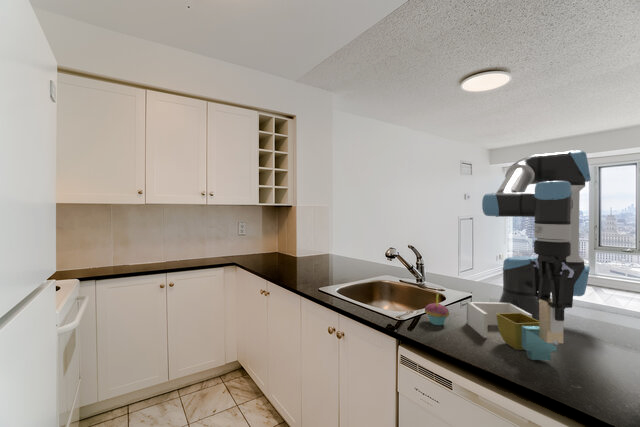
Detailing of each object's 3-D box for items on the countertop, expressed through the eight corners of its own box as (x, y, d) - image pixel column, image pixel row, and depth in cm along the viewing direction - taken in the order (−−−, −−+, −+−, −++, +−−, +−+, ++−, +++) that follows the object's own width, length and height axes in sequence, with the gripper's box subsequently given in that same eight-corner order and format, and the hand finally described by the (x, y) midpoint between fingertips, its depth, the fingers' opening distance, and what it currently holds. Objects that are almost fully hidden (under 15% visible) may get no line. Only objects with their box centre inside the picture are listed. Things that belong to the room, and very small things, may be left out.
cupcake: (451, 328, 103) (451, 295, 102) (426, 326, 104) (426, 293, 104) (445, 319, 111) (446, 288, 111) (422, 317, 113) (423, 287, 113)
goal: (509, 324, 106) (509, 302, 106) (531, 339, 94) (532, 314, 94) (466, 323, 107) (466, 301, 107) (483, 337, 95) (483, 313, 95)
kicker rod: (551, 356, 81) (551, 294, 80) (571, 370, 74) (571, 302, 74) (521, 355, 81) (522, 294, 81) (538, 369, 74) (539, 302, 74)
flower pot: (495, 340, 93) (495, 313, 93) (520, 339, 94) (520, 312, 94) (515, 353, 84) (516, 323, 84) (543, 352, 85) (543, 322, 85)
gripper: (517, 237, 83) (517, 317, 84) (560, 243, 67) (559, 342, 68) (544, 237, 83) (543, 318, 83) (594, 243, 67) (593, 343, 67)
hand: (551, 328), depth 75 cm, fingers closed on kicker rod, 3 cm apart
